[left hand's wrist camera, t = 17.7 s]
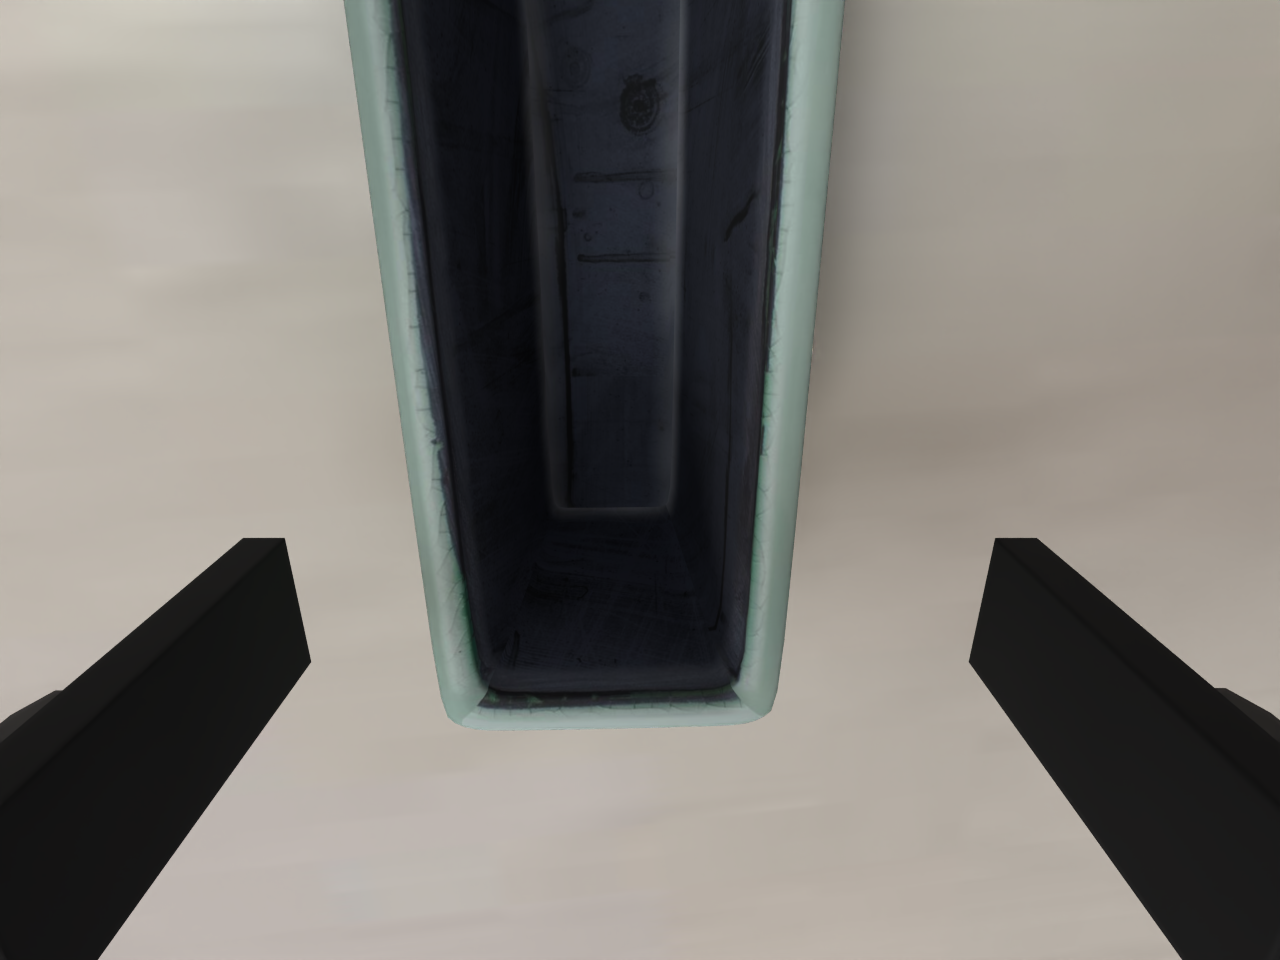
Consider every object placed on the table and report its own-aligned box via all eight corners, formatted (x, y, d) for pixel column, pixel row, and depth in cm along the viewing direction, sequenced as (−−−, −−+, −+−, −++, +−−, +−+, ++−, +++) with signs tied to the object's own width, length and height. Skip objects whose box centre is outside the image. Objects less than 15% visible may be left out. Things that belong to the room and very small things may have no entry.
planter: (729, 567, 21) (781, 732, 15) (495, 570, 21) (438, 740, 14) (811, -940, 11) (1104, -2669, 4) (359, -960, 11) (-49, -2805, 4)
